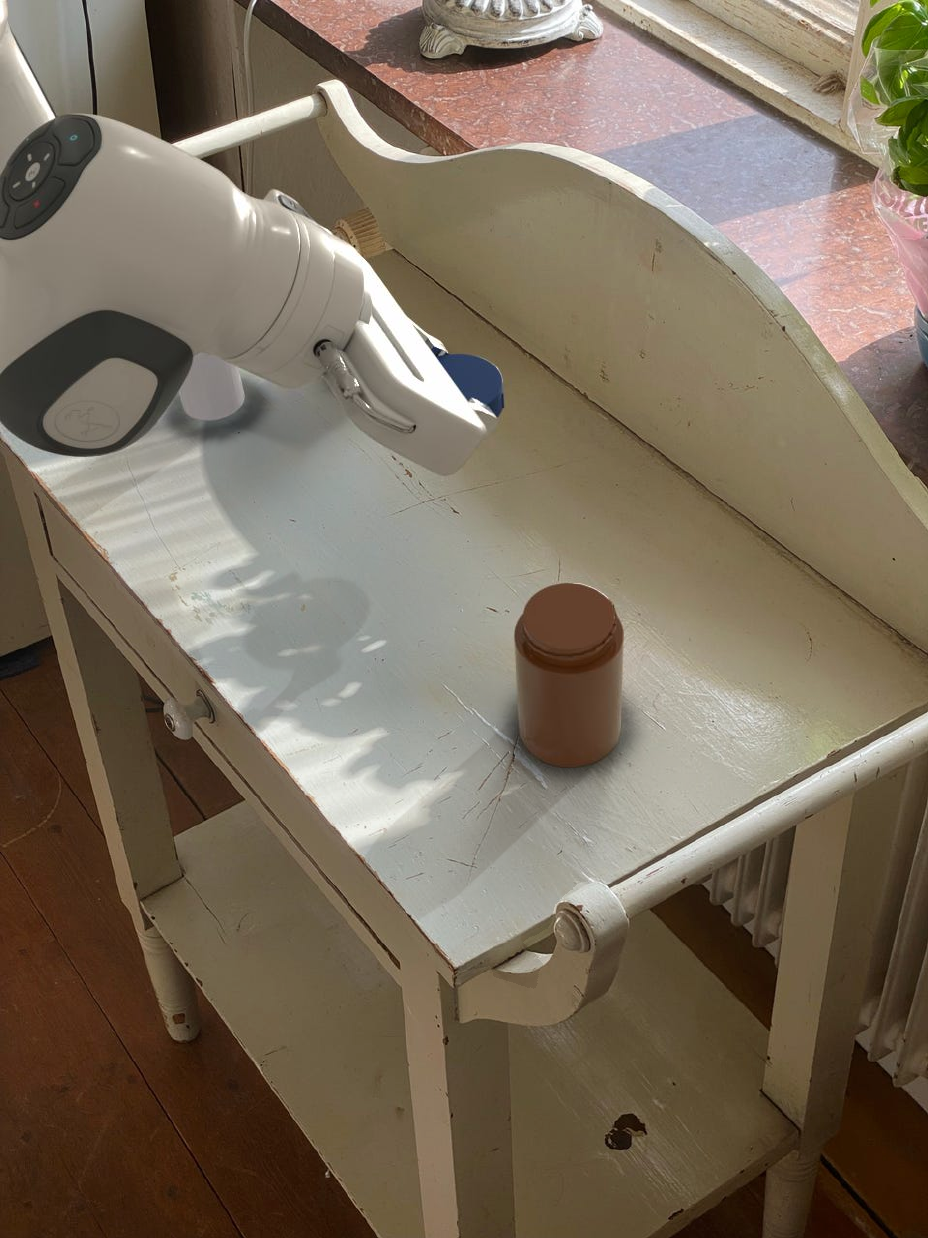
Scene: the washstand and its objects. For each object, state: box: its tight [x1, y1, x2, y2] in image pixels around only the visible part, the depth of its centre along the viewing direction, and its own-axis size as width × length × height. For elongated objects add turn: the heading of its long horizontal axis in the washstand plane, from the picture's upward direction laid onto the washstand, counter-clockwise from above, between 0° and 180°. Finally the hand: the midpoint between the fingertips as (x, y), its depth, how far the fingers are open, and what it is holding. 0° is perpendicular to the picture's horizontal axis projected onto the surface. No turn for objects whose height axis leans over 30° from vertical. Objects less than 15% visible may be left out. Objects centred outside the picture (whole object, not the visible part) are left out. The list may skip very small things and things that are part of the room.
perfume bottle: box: [178, 352, 246, 421], centre depth 94 cm, size 6×6×20 cm
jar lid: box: [436, 353, 505, 419], centre depth 86 cm, size 6×6×2 cm
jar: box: [513, 582, 625, 768], centre depth 76 cm, size 6×6×9 cm
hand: (463, 391), depth 86 cm, fingers closed on jar lid, 6 cm apart
